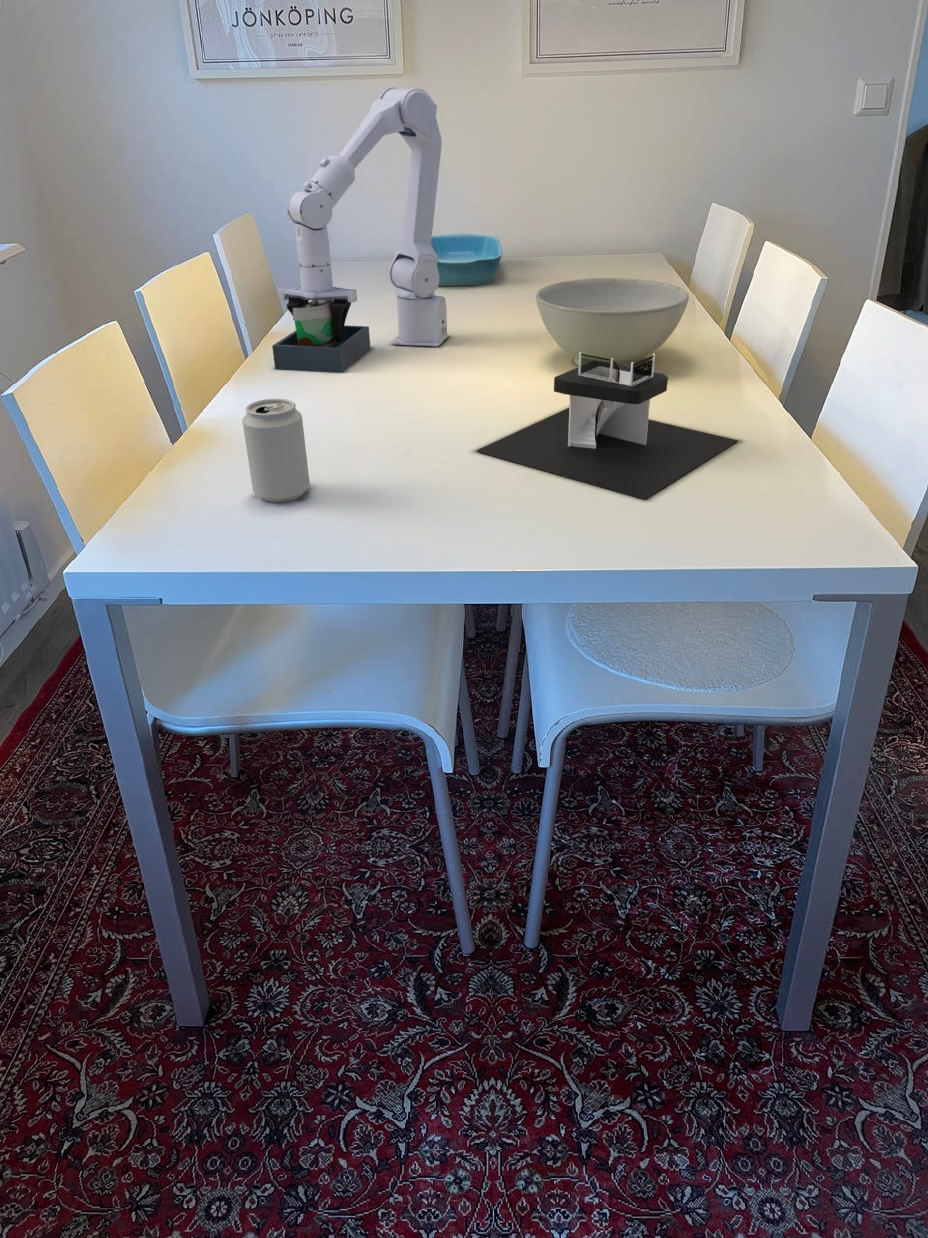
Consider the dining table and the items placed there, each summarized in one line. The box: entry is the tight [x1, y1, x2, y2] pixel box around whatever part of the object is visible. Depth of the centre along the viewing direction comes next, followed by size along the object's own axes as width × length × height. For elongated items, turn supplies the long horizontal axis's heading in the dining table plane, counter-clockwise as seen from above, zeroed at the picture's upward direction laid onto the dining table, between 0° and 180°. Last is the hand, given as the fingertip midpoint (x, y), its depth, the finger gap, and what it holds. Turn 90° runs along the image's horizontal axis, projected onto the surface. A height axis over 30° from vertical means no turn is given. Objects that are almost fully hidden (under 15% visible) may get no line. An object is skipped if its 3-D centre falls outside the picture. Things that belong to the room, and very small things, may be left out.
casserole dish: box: [431, 233, 503, 287], centre depth 240 cm, size 37×22×7 cm, turn 0°
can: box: [241, 398, 311, 503], centre depth 121 cm, size 8×8×12 cm
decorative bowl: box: [535, 277, 690, 368], centre depth 169 cm, size 27×27×12 cm
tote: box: [271, 325, 372, 373], centre depth 177 cm, size 13×16×4 cm
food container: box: [292, 300, 335, 347], centre depth 175 cm, size 12×6×10 cm, turn 168°
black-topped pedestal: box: [475, 352, 739, 500], centre depth 132 cm, size 28×26×13 cm
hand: (322, 339), depth 176 cm, fingers closed on food container, 6 cm apart
